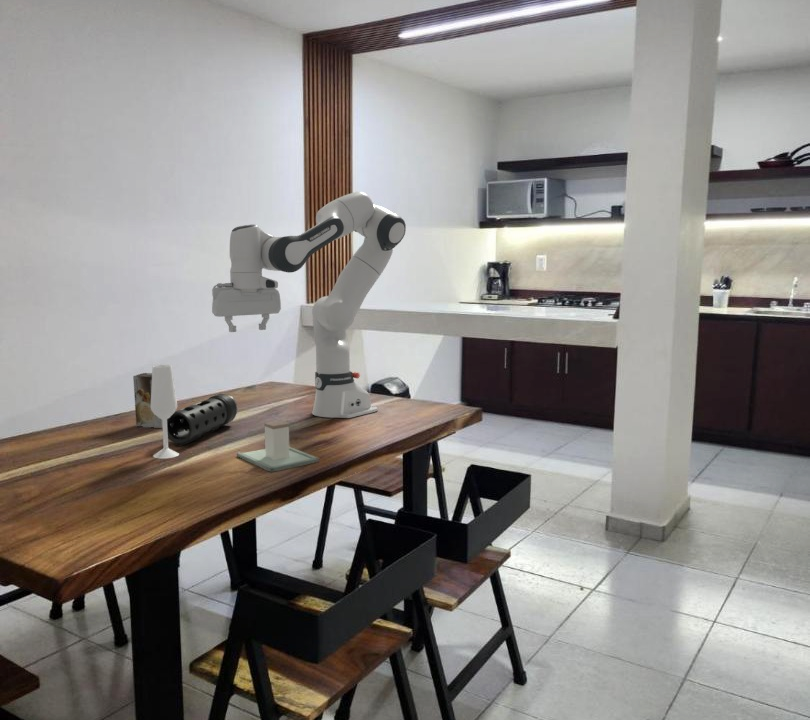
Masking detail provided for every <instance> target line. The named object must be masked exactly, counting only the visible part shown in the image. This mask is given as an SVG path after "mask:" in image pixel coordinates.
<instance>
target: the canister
mask: <svg viewBox="0 0 810 720" xmlns="http://www.w3.org/2000/svg"><path fill="white" fill-rule="evenodd" d="M263 424H264V425H263V426H264V441H265V442H264V445H265V447H264V449H265V452H266V457H268V458H270V459H272V460H278V459H283V458H288V457H289V447H290V423H289V422H286V421H283V420H281V419H279V420H275V421H268V422H264V423H263Z"/></svg>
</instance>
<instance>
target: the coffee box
mask: <svg viewBox="0 0 810 720" xmlns="http://www.w3.org/2000/svg"><path fill="white" fill-rule="evenodd" d="M151 388H152V372H143V373H139V374H136V375H133V393H134V408H135V409H134V411H135V422H136V423H135V426H136V427H137V426H143V427H142V428H151V427H154V429H156V428H157V429H163V425H162V419H160V418H158V417H157V416H156V415H155V414H154V413H153V412H152V410H151Z"/></svg>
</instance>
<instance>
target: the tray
mask: <svg viewBox="0 0 810 720" xmlns="http://www.w3.org/2000/svg"><path fill="white" fill-rule="evenodd" d="M237 456H238V457H237ZM236 457H237V458H239V457H240V459H241V458H242V460H244V461H245V462H247V463H250V464H252V465H254V466H257V467H259V468H261V469H263V470H265V471H267V472H269V473H273V472H274V473H275V472H279V471H282V470H287V469H293V468H297V467H302V466H306V465H311V463H312V464H315V463H314V462H316V463H319V461H320V458H319V457H316V456H314V455H312V454H309V453H307V452H304V451H302V450H299V449H297V448H294V447H291V446H289V457H288V458H283V459H278V460H272V459H270V458H268V457H266V452H265V448H262V449H257V450H252V451H247V452H242V451H239V452H236Z"/></svg>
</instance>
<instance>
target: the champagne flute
mask: <svg viewBox="0 0 810 720" xmlns="http://www.w3.org/2000/svg"><path fill="white" fill-rule="evenodd" d="M151 368H152V371H151V373H152V388H151V410H152V412H153V413H154V414H155V415H156V416H157V417H158V418H160V419H162V425H163V428H162V443H163V448H162V449H160V450H159V451H157V452H156V453H154V454H153V455H152V457H153V458H155V459H164V460H165V459H172V458H175V457H178V456H179V455H180V453H179V452H177V451H176V450H173V449H172V448H170V447H169V439H168V432H167V419H168V418H170V417H171V416H172V415H173V414H174V412H175V411H177V409H178V402H177V393H176V387H175V381H174V373H173V366H172V364H156V365H153V366H152V367H151Z"/></svg>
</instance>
